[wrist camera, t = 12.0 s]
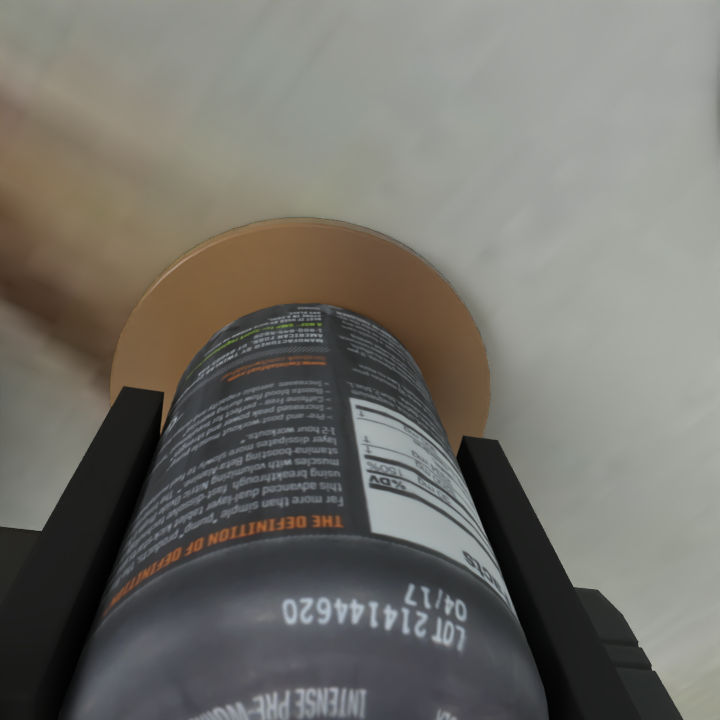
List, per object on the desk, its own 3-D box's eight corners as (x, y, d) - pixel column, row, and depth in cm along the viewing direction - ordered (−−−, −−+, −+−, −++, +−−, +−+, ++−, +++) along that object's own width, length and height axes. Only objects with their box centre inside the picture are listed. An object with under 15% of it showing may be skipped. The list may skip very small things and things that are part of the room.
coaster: (106, 523, 17) (99, 538, 16) (128, 179, 13) (120, 183, 13) (433, 559, 18) (437, 574, 18) (532, 257, 15) (541, 265, 14)
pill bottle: (183, 514, 16) (-23, 1287, 6) (170, 290, 14) (-219, 954, 4) (416, 514, 17) (590, 1216, 7) (443, 300, 14) (789, 894, 4)
